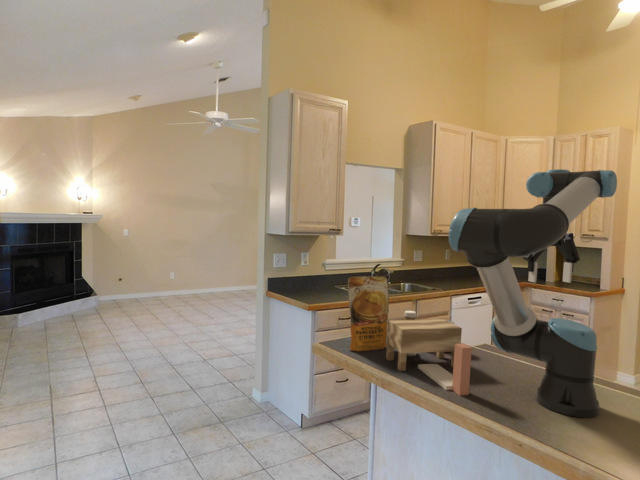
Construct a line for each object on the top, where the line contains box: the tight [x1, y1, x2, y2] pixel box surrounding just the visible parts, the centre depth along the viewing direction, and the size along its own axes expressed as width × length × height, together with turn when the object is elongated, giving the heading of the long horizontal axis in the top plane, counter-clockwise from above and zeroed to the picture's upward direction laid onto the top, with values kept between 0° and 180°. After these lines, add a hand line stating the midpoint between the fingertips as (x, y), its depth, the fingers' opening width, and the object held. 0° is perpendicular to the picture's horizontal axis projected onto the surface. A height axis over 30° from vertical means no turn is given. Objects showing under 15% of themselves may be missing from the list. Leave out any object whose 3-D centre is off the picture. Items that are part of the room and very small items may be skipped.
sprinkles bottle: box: [404, 310, 417, 320], centre depth 165 cm, size 5×5×14 cm
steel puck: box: [406, 353, 418, 358], centre depth 154 cm, size 6×6×2 cm
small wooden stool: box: [385, 318, 463, 372], centre depth 144 cm, size 12×22×14 cm, turn 103°
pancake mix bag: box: [347, 275, 390, 352], centre depth 158 cm, size 7×19×28 cm, turn 112°
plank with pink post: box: [417, 342, 473, 396], centre depth 129 cm, size 22×7×14 cm, turn 13°
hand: (549, 282), depth 135 cm, fingers open, 13 cm apart
